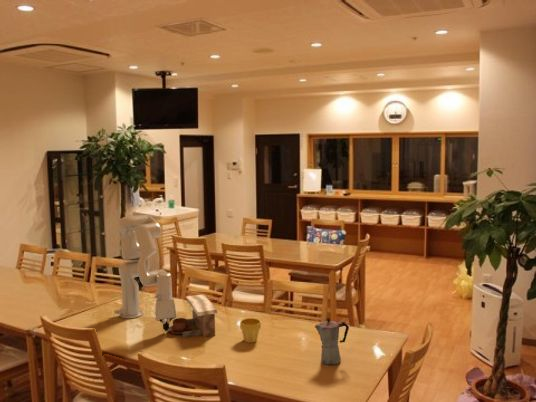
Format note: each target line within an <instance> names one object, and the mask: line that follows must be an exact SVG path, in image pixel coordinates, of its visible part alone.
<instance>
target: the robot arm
mask: <svg viewBox="0 0 536 402" xmlns="http://www.w3.org/2000/svg"><path fill="white" fill-rule="evenodd" d="M118 230H119V234H120V238H121V239H120V240H121V241H120V249H121V257H122V259H123V260H125V262H123V263H120V265H119V267H118V273H119V279H120V283H121V303H122V304H121V305H122V306H121V308H120V309H115V310H114V309H113V310H114V311H113V312H114V314H116V315H118V314H119V316H120V318H122V319H127V320H128V319H129V320H130V319H136V318H139V317H142V316H143V311H142V310H140V291H139V289H140V288H139V284H138V283H139V282H138V281H136V279H135V278H137V277H139V278H138V279H139V281H140V283H141V284H142V286H143V287H151V286H156V292H157V293H156V294H155V295H154V298H155V299H156V300H155V310H154V312H155V318H154V319H155V321H156V322H160V323H161V324H162V330H164V332H169V327H170V324H171V323H170V322H172V321H173V320H174V319H177V314H176V313H177V309H176V303H175V298H174V297H173V285H172V281H173V280H172V274H171V273H170V272H167V271H166V270H165V269H163V268H161V269H160V268H159V269H155V270H150V268H151V267H150V266H151V265H150V264H151V263H150V257H151V256H154V254H156V252H157V251H158V249H157V245H156V243H155V239H157V238H160V237H161V236H162V235H163V234H162V231H163V230H162V227H161V226H160V223H158V221H156V219H155V218H153V217H152V216H151V215H150V214H138V215H136V214H135V215H129V216H124V217H122V218H120V219H119V221H118Z"/></svg>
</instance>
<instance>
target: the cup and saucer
mask: <svg viewBox="0 0 536 402" xmlns="http://www.w3.org/2000/svg"><path fill="white" fill-rule="evenodd" d="M187 319H188V318H186V317H178V318H177V317H176V318H175V319H172V325H170V326H169V329H168V332H169V333H171V334H174V335H181V334H182V332H186V331H192V326H191V325H192V324H191V321H190V320H188V321H187ZM187 322H190V324H188V325H187Z"/></svg>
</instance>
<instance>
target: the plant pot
mask: <svg viewBox="0 0 536 402" xmlns="http://www.w3.org/2000/svg"><path fill="white" fill-rule="evenodd" d="M261 322H262V321H261V320H260V319H258V318H255V317H248V318H243V319H242V320H240V322H239V325H240V326H239V327H240V330H241V334H242V336H243V337H242V338H243V341H244V342H245V343H249V344H250V343H251V344H252V343H256V342H257V341H258V337H259V333H260V329H262V328H261V327H262V326H261V325H262V323H261Z"/></svg>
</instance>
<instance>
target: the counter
mask: <svg viewBox="0 0 536 402" xmlns="http://www.w3.org/2000/svg"><path fill="white" fill-rule="evenodd" d="M185 298H186V299H185V300H186V302H187V303H188V304H189V306H190V307H191V311H192V314H191V315H192V318H186V319H187V321H188V320H190V321H191V325H193V324H194V325H195V326H196V328H197V329H195V330H193V329H192V330H190V331H186V332H182V338H190V337H197V336H203V338H208V337H214V336H216V319H215V317H216V314H218V309H217V308H216V306H214V305H213V303H212V302H211V301H210V299H209V298H207V296H206V295H205V294H196V295H189V296H186V297H185ZM189 324H190V322H187V325H189Z"/></svg>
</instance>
